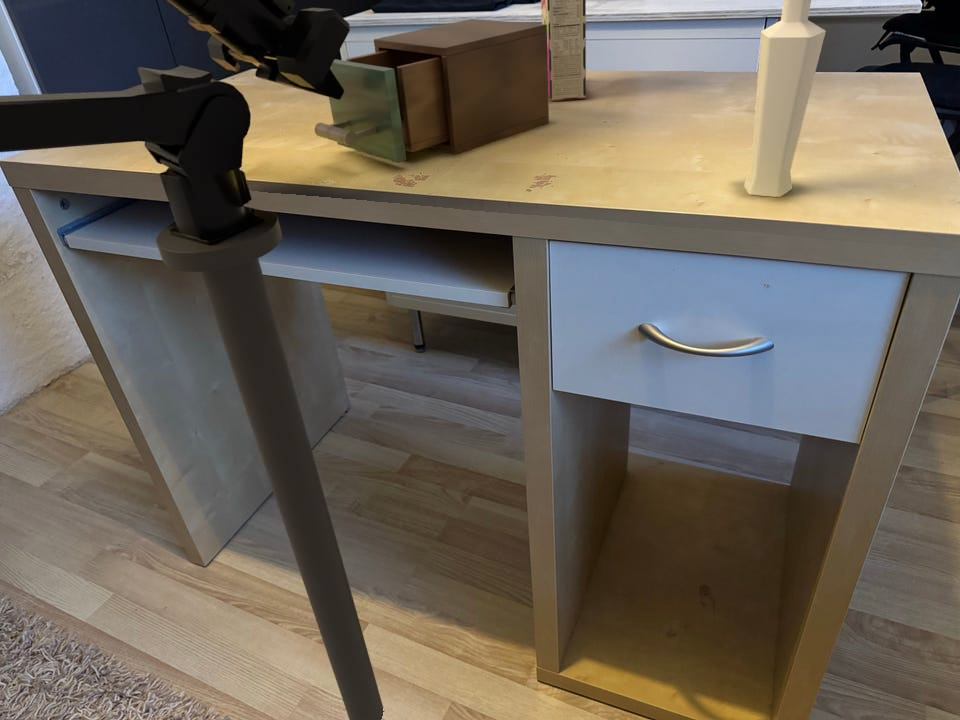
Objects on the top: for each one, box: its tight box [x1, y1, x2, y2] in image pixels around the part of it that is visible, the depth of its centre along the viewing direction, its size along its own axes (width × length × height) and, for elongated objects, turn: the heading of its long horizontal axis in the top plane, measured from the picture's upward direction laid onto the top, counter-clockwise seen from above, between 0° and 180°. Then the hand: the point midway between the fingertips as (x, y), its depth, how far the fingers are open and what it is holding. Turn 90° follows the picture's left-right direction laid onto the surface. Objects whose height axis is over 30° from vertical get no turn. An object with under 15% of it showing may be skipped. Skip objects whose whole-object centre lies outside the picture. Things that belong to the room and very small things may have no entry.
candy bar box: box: [540, 0, 587, 102], centre depth 89 cm, size 11×5×16 cm, turn 0°
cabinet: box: [373, 18, 550, 155], centre depth 78 cm, size 15×13×11 cm
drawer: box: [314, 49, 450, 164], centre depth 73 cm, size 17×11×9 cm, turn 132°
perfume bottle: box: [743, 0, 827, 198], centre depth 55 cm, size 5×4×15 cm
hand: (340, 95), depth 69 cm, fingers closed
